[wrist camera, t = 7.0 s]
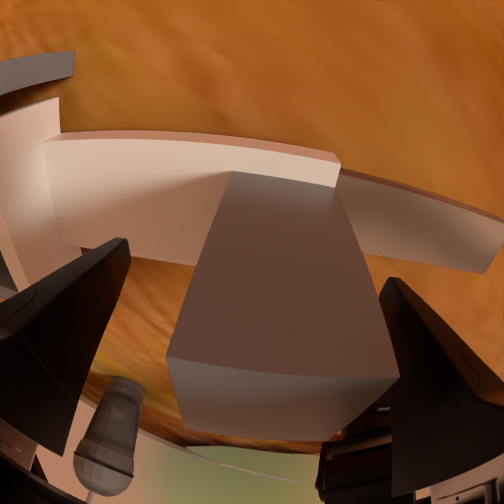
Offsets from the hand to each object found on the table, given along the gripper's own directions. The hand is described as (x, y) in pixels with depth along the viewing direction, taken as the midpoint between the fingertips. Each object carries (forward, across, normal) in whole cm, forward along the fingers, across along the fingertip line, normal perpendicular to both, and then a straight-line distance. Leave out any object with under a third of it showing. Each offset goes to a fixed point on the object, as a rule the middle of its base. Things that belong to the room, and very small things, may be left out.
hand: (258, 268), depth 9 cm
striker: (+5, +5, 0) cm, 7 cm away
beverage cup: (+6, +13, +27) cm, 31 cm away
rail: (+6, -8, 0) cm, 10 cm away
